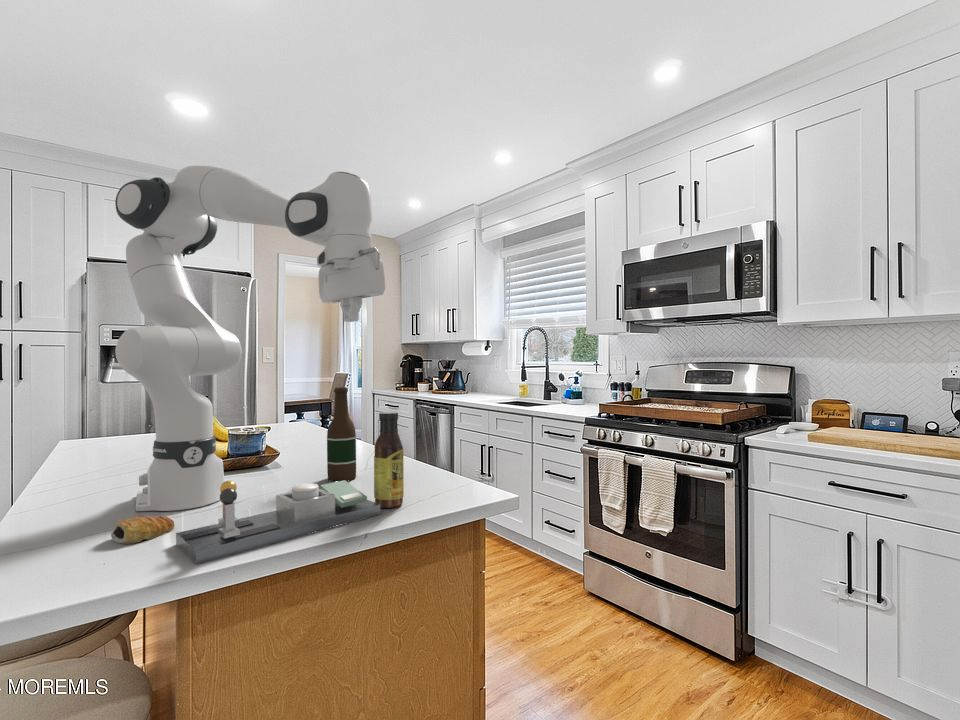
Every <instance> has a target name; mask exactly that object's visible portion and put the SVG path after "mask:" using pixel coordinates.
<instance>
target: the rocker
mask: <svg viewBox="0 0 960 720" xmlns="http://www.w3.org/2000/svg"><path fill="white" fill-rule="evenodd" d="M319 489H322V490H324V491H327V492H329V493H332V494H335V503H336V504H338V505H339V506H340V507H341V508H342V507H346V506H351V505H355V504H359V503H363V502H367V500H368V496H367V495H365V494H364V493H362V491H360V490H358V489H357V488H356V487H354V486H353V485H352V484H350V483H349V481H345V480H343V481H338V482H334V481H332V482H328V483H324V484H320V486H319Z"/></svg>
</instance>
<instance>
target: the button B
mask: <svg viewBox="0 0 960 720" xmlns="http://www.w3.org/2000/svg"><path fill="white" fill-rule="evenodd" d="M318 488H319V484H317V483H302V484H296V485H294V486H292V487H291V492H292V499H293V500H296V501H301V500H305V499H310V498H314V497H319V489H320V488H319V489H318Z"/></svg>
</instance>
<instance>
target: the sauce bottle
mask: <svg viewBox="0 0 960 720" xmlns="http://www.w3.org/2000/svg"><path fill="white" fill-rule="evenodd" d="M378 415H379V418H378V419H379V433H380V434H379V435H378V437H377V438H376V441H375V443H374V456H373V474H374V475H373V495H374V496H373V497H374V502H375V503H377V504H380V509H390V508H391V509H392V508H397V507H399V506H402V505H403V502H404V495H405V494H404V493H405V492H404V485H405V483H404V482H405V481H404V475H405V474H404V467H405V466H404V463H405V462H404V446H403V443H402V440H401V438H400V434H399V429H398V419H399V412H398V411H384V412H379V413H378Z"/></svg>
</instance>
